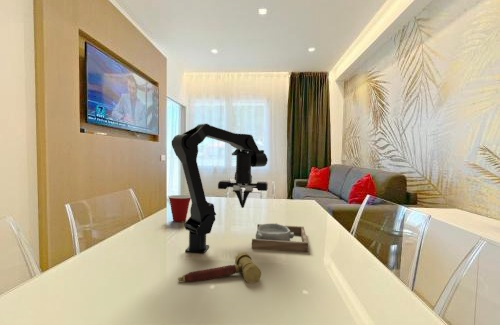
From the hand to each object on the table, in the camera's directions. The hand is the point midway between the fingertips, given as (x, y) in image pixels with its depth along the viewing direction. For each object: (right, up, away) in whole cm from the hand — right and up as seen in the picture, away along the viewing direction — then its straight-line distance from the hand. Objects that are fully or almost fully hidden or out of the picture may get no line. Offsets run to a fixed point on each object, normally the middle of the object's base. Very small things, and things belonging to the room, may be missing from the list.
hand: (242, 207), depth 104 cm
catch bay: (+14, -12, -1) cm, 18 cm away
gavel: (-6, -14, -32) cm, 35 cm away
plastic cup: (-31, -10, +24) cm, 40 cm away
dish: (+12, -13, -1) cm, 17 cm away
